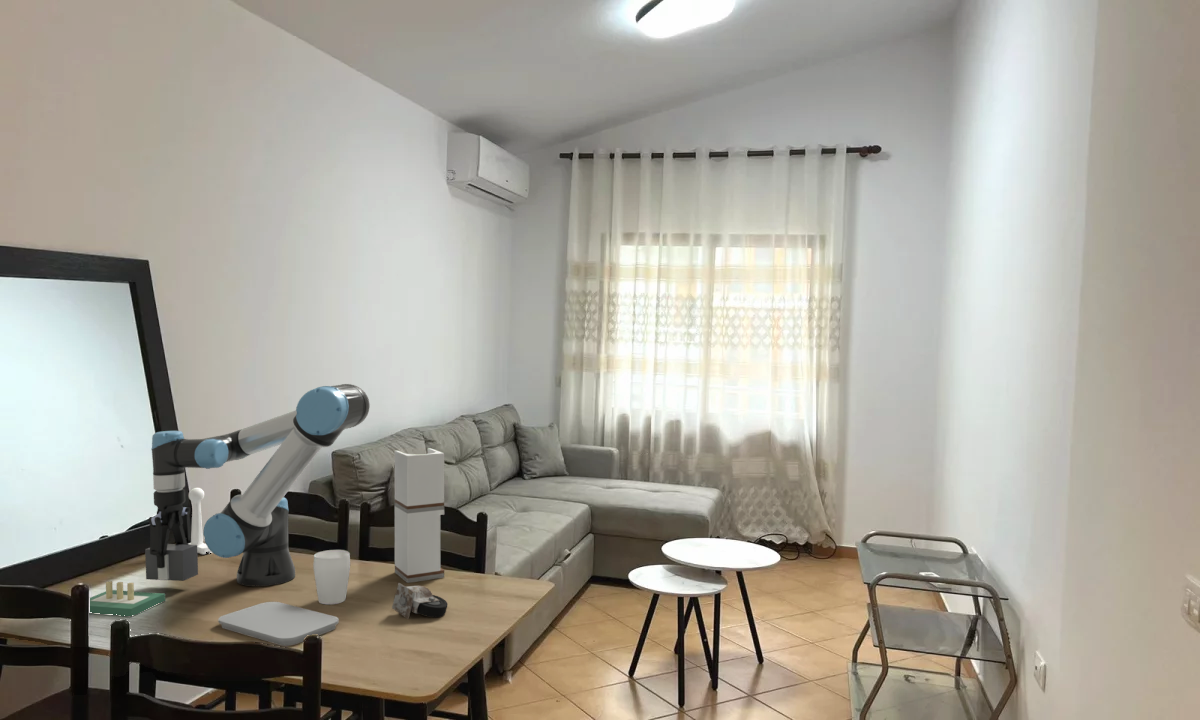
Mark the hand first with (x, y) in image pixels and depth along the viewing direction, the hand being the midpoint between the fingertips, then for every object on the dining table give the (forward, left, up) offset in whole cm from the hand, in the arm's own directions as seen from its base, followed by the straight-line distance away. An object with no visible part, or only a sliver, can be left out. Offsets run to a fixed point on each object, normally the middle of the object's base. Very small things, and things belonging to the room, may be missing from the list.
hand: (172, 575), depth 228 cm
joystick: (+18, -33, -4) cm, 38 cm away
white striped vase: (-59, -25, -4) cm, 65 cm away
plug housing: (0, 0, 0) cm, 0 cm away
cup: (-46, +1, -4) cm, 47 cm away
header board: (+3, +16, -3) cm, 17 cm away
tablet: (-43, +21, -4) cm, 48 cm away
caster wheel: (-73, +6, -4) cm, 73 cm away
